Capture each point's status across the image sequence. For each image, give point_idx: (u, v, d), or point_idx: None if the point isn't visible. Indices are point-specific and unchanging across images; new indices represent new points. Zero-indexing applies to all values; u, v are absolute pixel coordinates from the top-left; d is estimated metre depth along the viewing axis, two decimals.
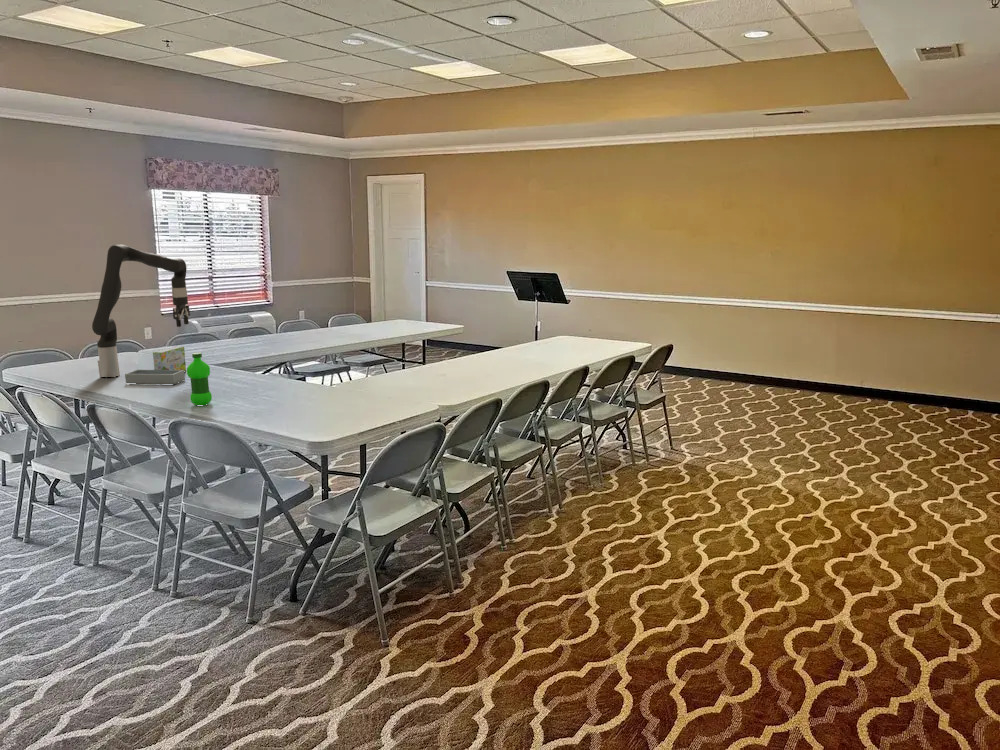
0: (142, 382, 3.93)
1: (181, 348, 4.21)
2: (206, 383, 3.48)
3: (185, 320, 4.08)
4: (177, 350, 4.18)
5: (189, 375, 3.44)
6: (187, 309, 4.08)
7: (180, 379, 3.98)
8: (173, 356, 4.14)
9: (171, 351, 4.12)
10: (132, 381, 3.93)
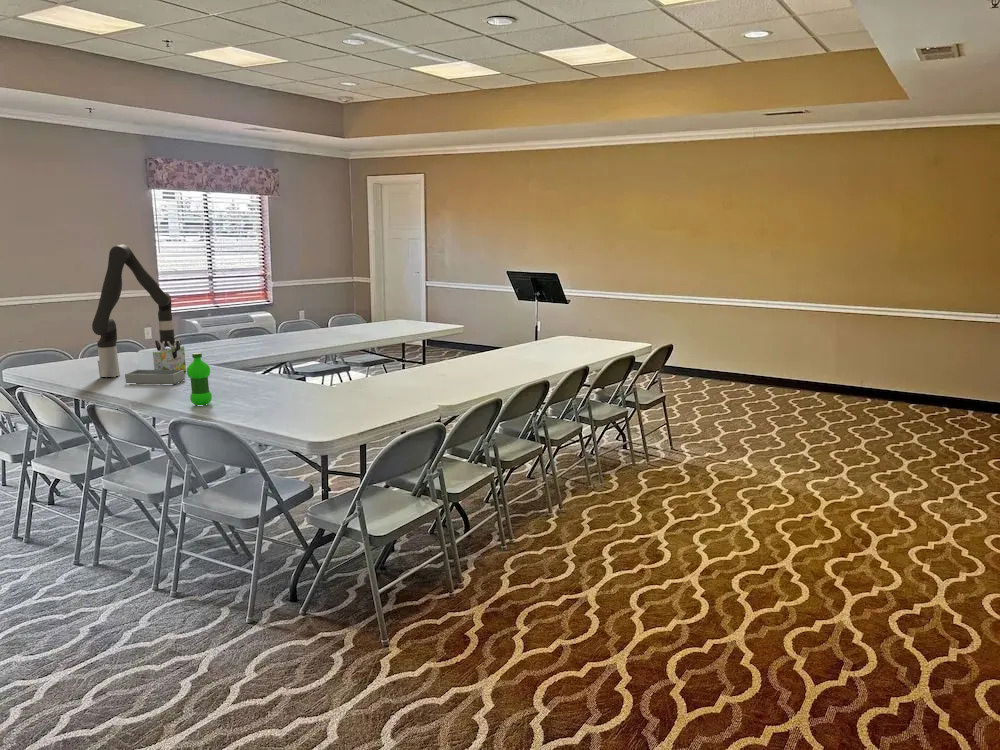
0: (142, 382, 3.93)
1: (181, 348, 4.21)
2: (206, 383, 3.48)
3: None
4: None
5: (189, 375, 3.44)
6: (159, 343, 4.14)
7: (180, 379, 3.98)
8: None
9: (171, 351, 4.12)
10: (132, 381, 3.93)
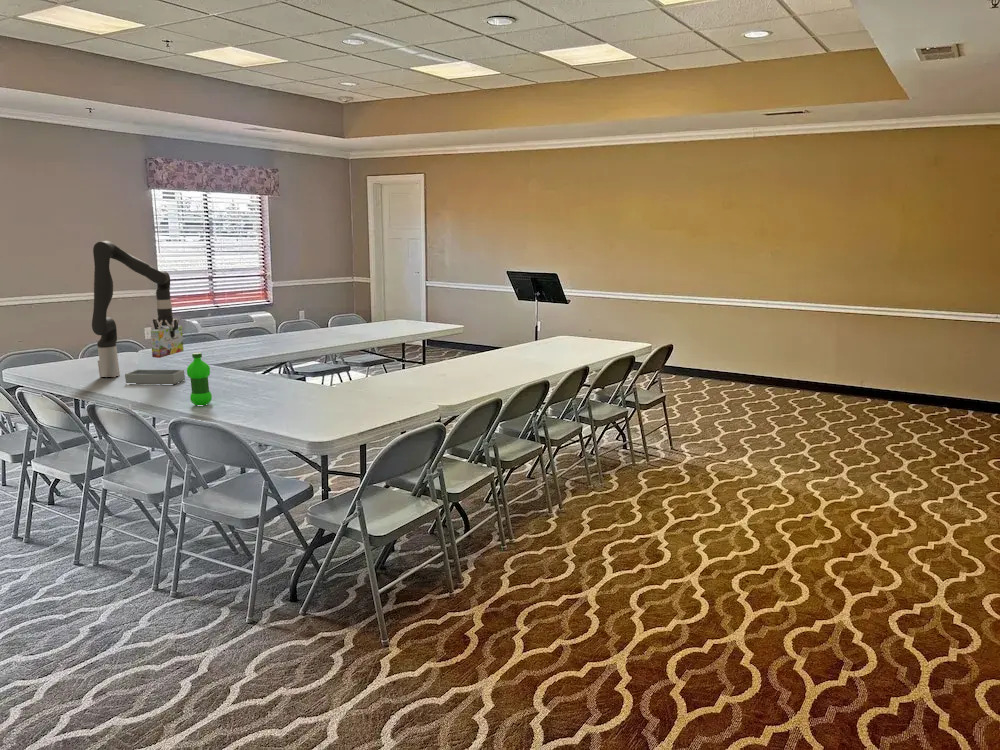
0: (142, 382, 3.93)
1: (179, 327, 4.19)
2: (206, 383, 3.48)
3: None
4: None
5: (189, 375, 3.44)
6: (157, 322, 4.12)
7: (180, 379, 3.98)
8: None
9: (169, 330, 4.10)
10: (132, 381, 3.93)
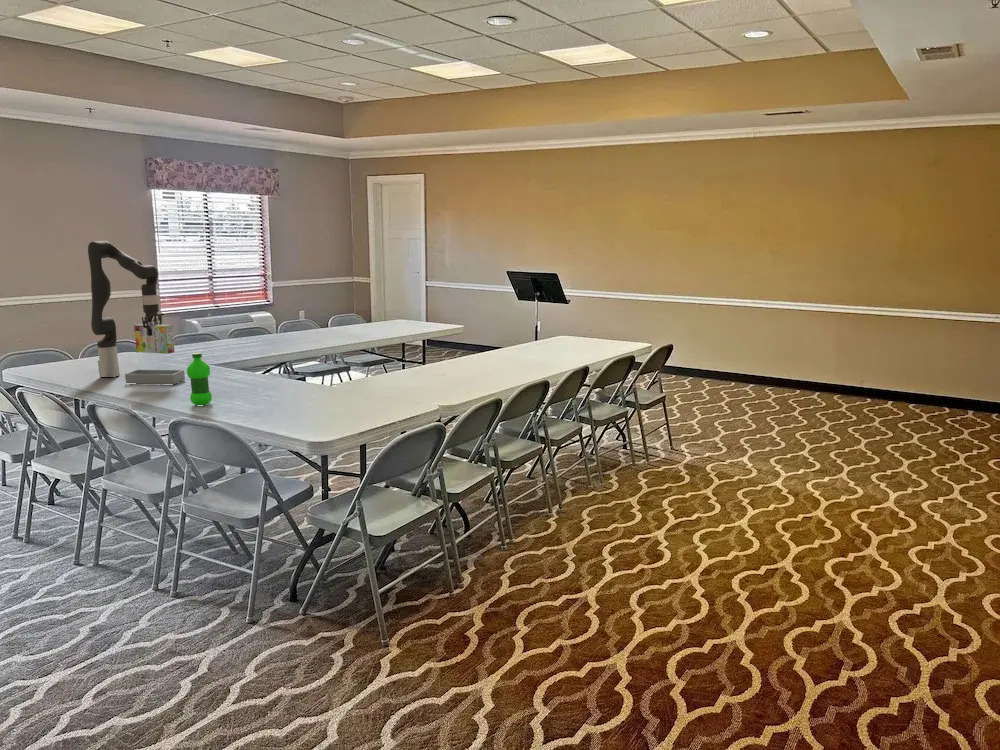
0: (142, 382, 3.93)
1: None
2: (206, 383, 3.48)
3: None
4: None
5: (189, 375, 3.44)
6: None
7: (180, 379, 3.98)
8: None
9: None
10: (132, 381, 3.93)
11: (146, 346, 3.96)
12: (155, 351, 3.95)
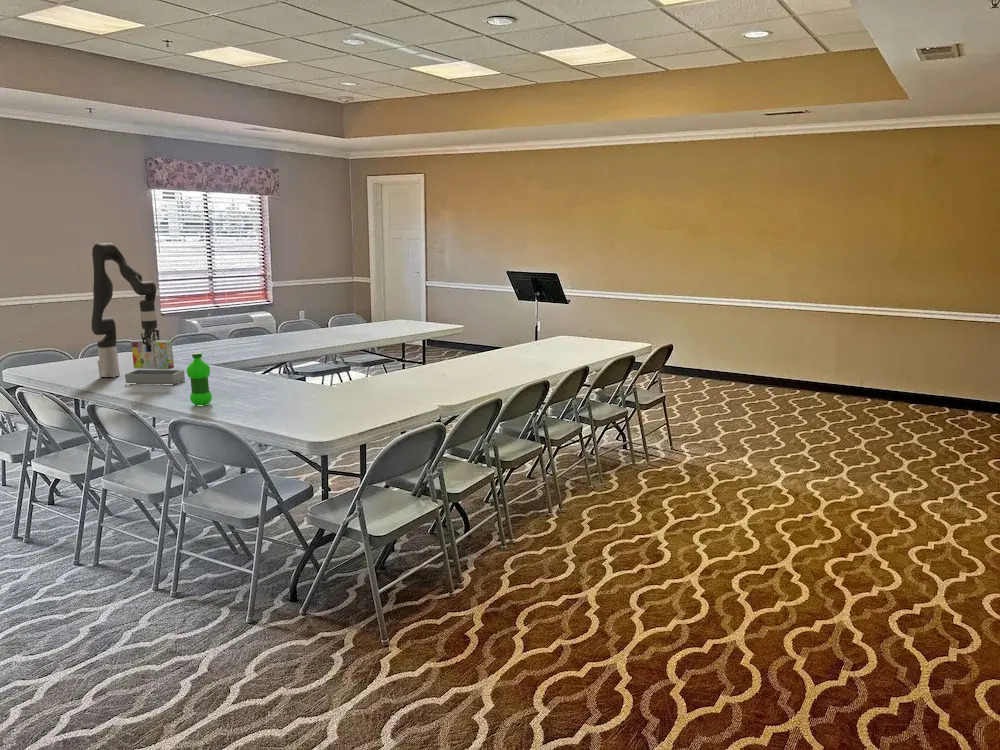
0: (142, 382, 3.93)
1: None
2: (206, 383, 3.48)
3: None
4: None
5: (189, 375, 3.44)
6: None
7: (180, 379, 3.98)
8: None
9: None
10: (132, 381, 3.93)
11: (144, 362, 3.94)
12: (154, 367, 3.94)
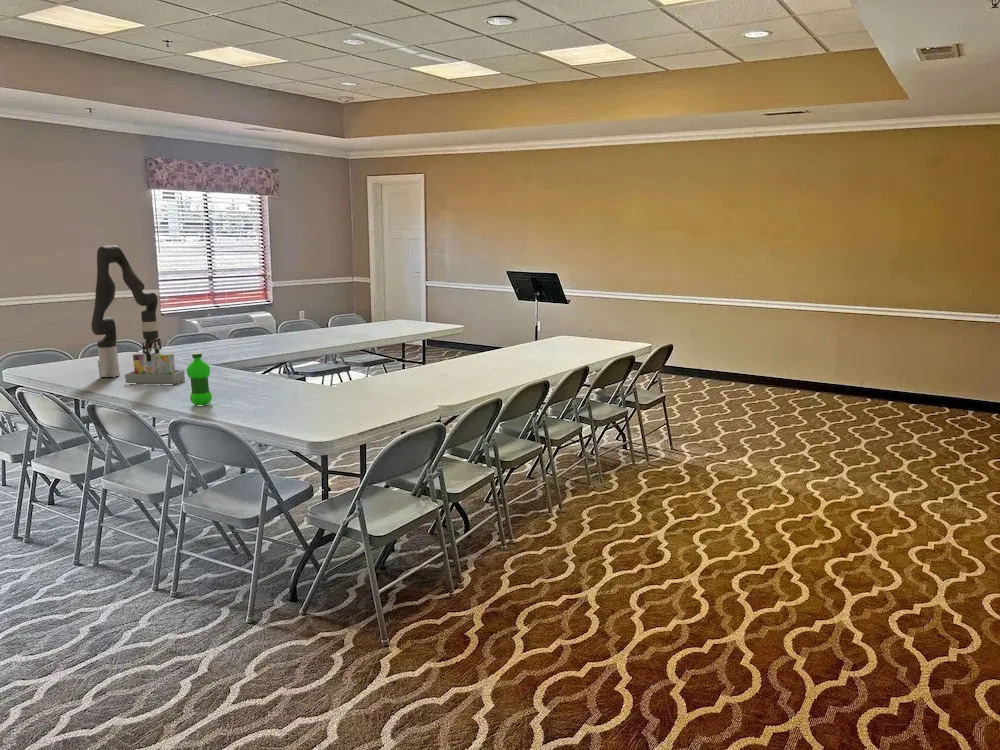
0: (142, 382, 3.93)
1: None
2: (206, 383, 3.48)
3: None
4: None
5: (189, 375, 3.44)
6: None
7: (180, 379, 3.98)
8: None
9: None
10: (132, 381, 3.93)
11: None
12: None
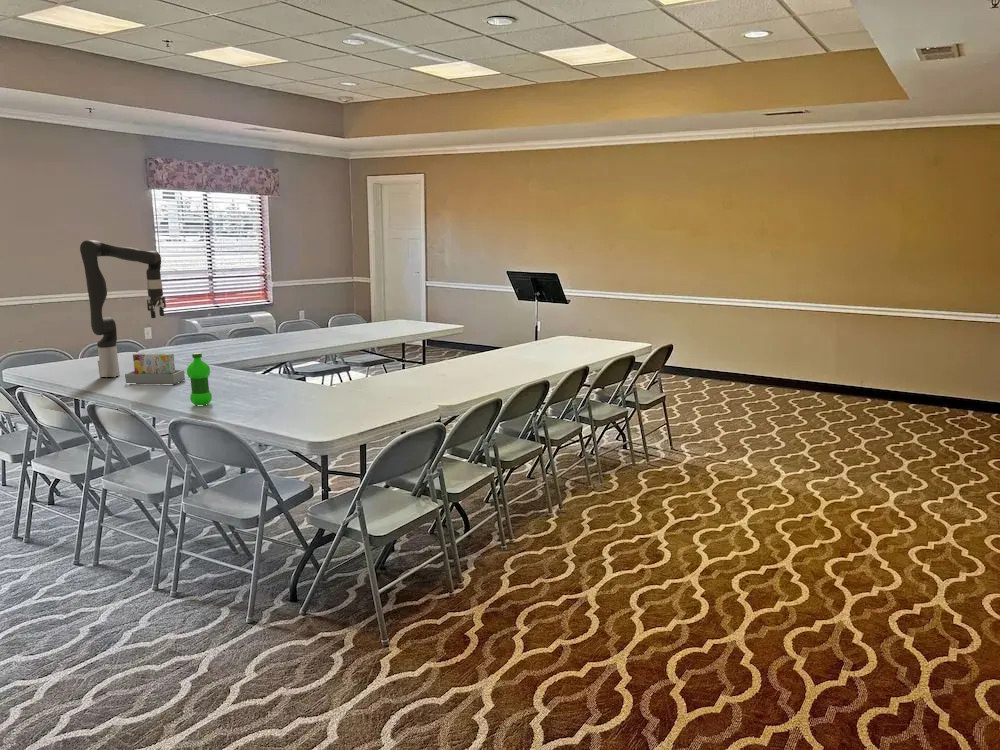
0: (142, 382, 3.93)
1: None
2: (206, 383, 3.48)
3: None
4: None
5: (189, 375, 3.44)
6: None
7: (180, 379, 3.98)
8: None
9: None
10: (132, 381, 3.93)
11: None
12: None
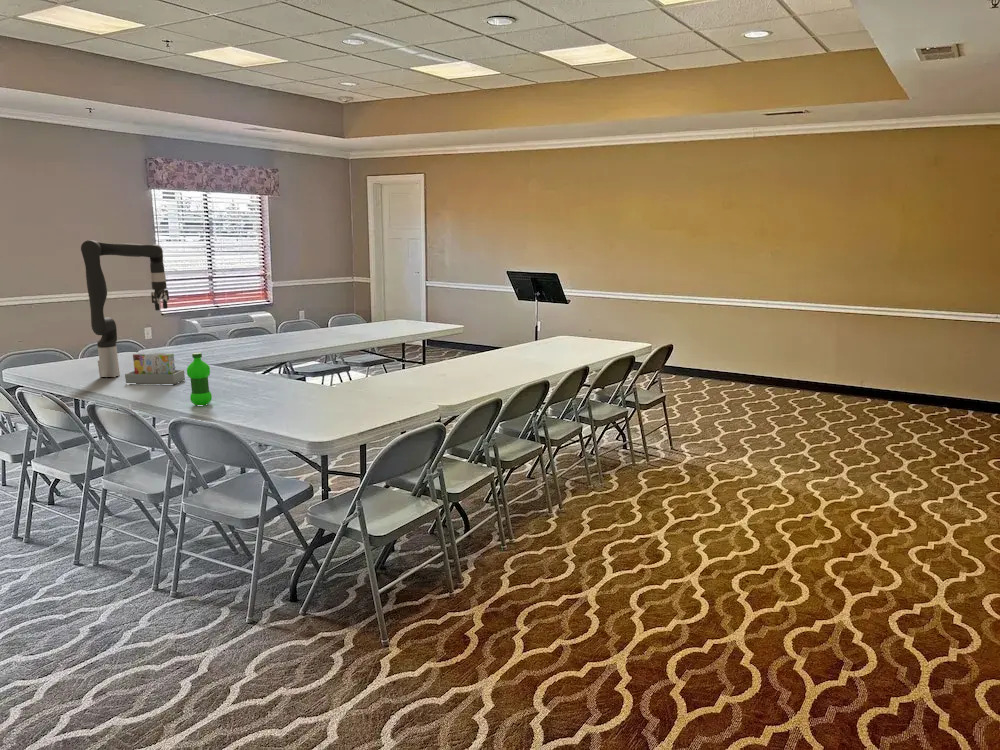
0: (142, 382, 3.93)
1: None
2: (206, 383, 3.48)
3: None
4: None
5: (189, 375, 3.44)
6: None
7: (180, 379, 3.98)
8: None
9: None
10: (132, 381, 3.93)
11: None
12: None
